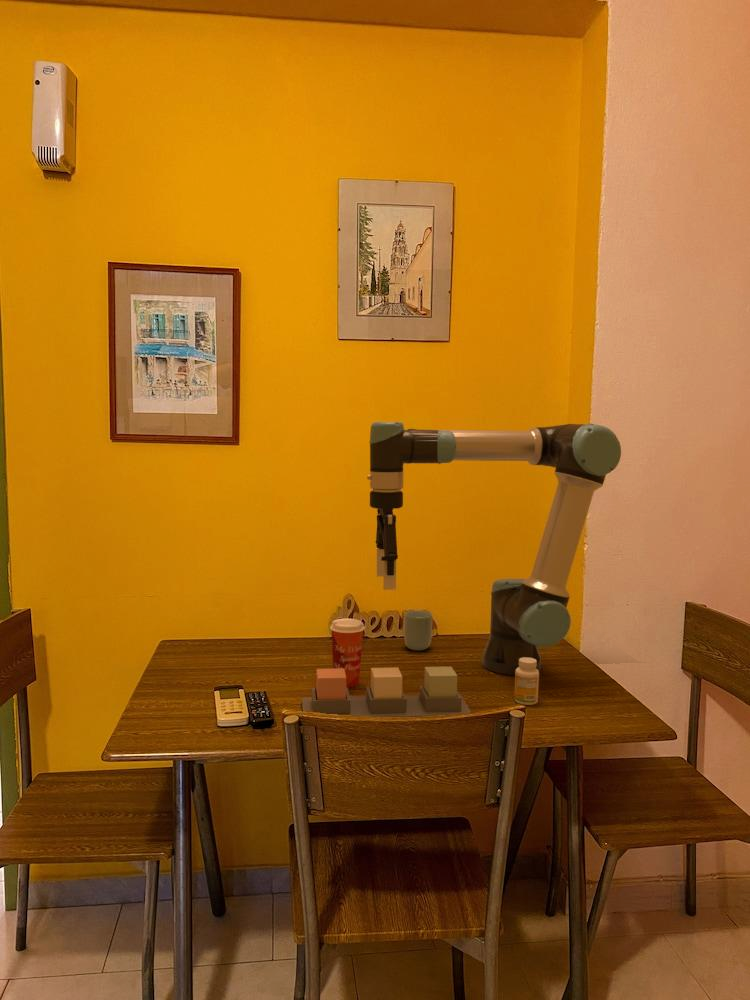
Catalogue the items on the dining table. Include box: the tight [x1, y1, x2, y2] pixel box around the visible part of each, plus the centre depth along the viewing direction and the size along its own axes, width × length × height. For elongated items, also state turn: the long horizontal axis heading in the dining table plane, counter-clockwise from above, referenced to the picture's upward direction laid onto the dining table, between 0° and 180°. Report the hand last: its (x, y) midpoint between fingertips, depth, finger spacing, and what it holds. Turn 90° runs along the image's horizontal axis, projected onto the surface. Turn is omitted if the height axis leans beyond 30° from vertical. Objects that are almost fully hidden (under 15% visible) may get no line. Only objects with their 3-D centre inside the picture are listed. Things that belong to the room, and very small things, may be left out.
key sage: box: [423, 666, 458, 697], centre depth 163 cm, size 6×6×5 cm
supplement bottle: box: [513, 657, 540, 706], centre depth 170 cm, size 5×5×10 cm
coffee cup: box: [329, 617, 366, 688], centre depth 178 cm, size 8×8×15 cm
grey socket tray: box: [301, 685, 472, 717], centre depth 162 cm, size 36×12×4 cm, turn 97°
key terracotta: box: [315, 668, 346, 700], centre depth 160 cm, size 6×6×5 cm
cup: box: [403, 609, 434, 652], centre depth 207 cm, size 8×8×10 cm
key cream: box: [370, 667, 403, 699], centre depth 162 cm, size 6×6×5 cm
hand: (385, 582), depth 170 cm, fingers open, 13 cm apart
